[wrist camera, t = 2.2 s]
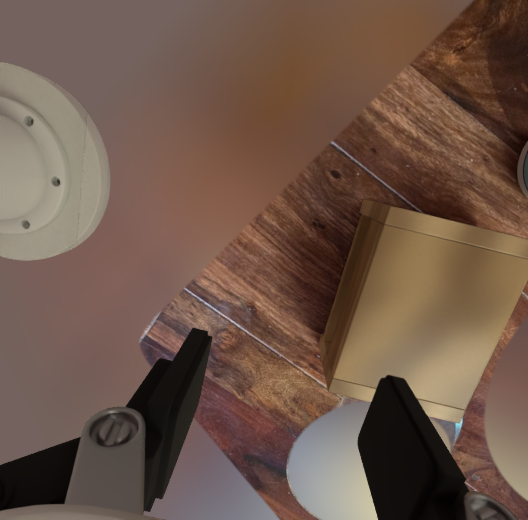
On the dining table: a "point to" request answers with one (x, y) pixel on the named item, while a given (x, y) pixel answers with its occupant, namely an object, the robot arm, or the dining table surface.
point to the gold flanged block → (421, 306)
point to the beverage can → (523, 170)
